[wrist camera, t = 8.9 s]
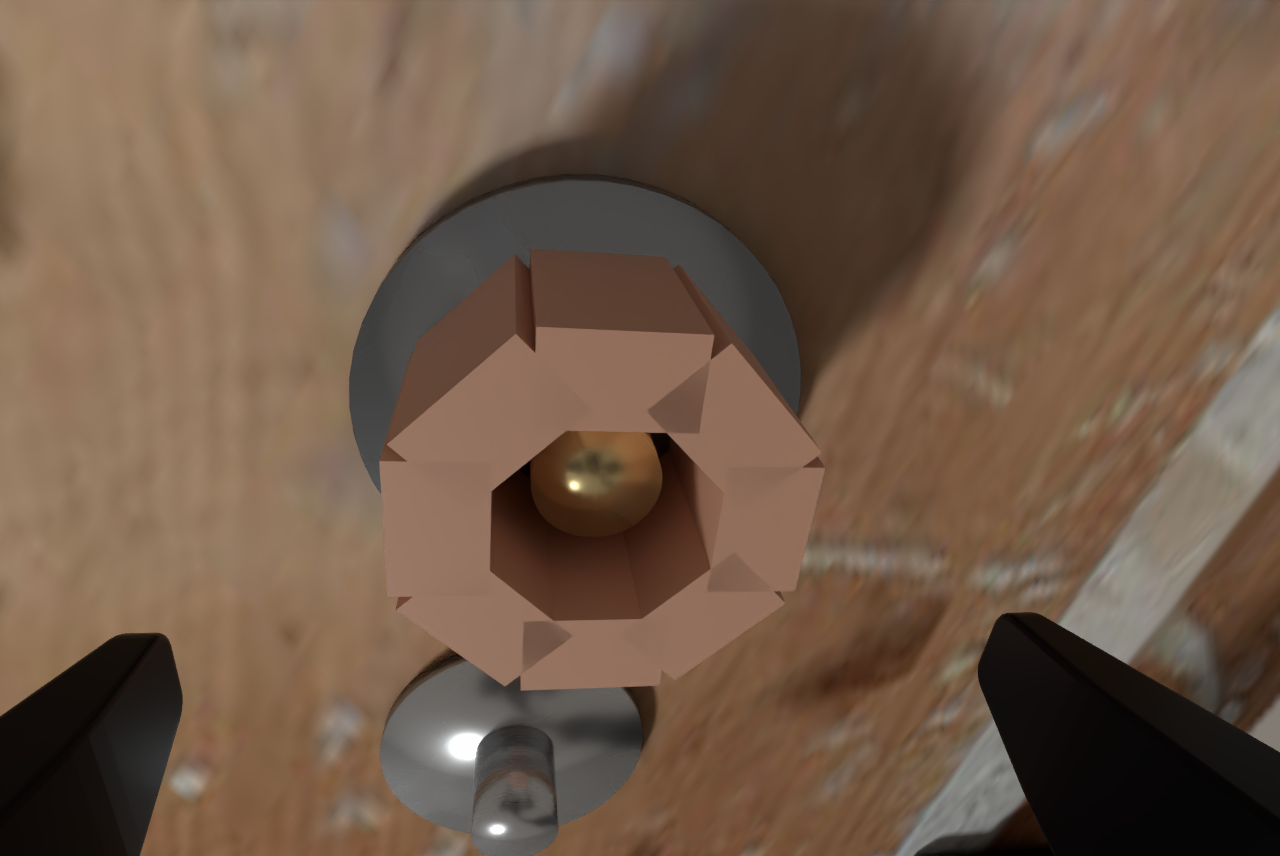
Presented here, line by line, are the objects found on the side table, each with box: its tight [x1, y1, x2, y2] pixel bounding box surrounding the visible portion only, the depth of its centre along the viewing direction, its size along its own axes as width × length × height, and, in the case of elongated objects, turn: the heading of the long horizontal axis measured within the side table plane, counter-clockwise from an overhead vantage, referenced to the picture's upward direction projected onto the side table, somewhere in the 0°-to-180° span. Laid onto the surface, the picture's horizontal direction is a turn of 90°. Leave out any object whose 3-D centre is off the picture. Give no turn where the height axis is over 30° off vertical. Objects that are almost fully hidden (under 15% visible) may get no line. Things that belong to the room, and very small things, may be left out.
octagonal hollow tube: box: [379, 248, 825, 691], centre depth 12 cm, size 6×6×4 cm
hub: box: [349, 174, 801, 538], centre depth 13 cm, size 8×8×3 cm
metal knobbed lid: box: [380, 655, 643, 856], centre depth 17 cm, size 6×6×2 cm
